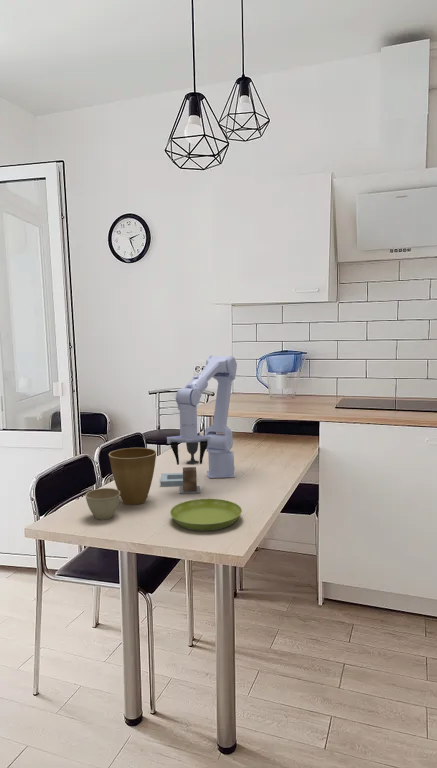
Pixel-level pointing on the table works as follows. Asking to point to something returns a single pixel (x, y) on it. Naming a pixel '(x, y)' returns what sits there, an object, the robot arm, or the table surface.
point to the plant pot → (133, 473)
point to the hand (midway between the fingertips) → (189, 463)
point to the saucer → (206, 514)
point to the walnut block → (189, 479)
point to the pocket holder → (171, 479)
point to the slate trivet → (189, 491)
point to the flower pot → (103, 502)
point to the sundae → (192, 451)
